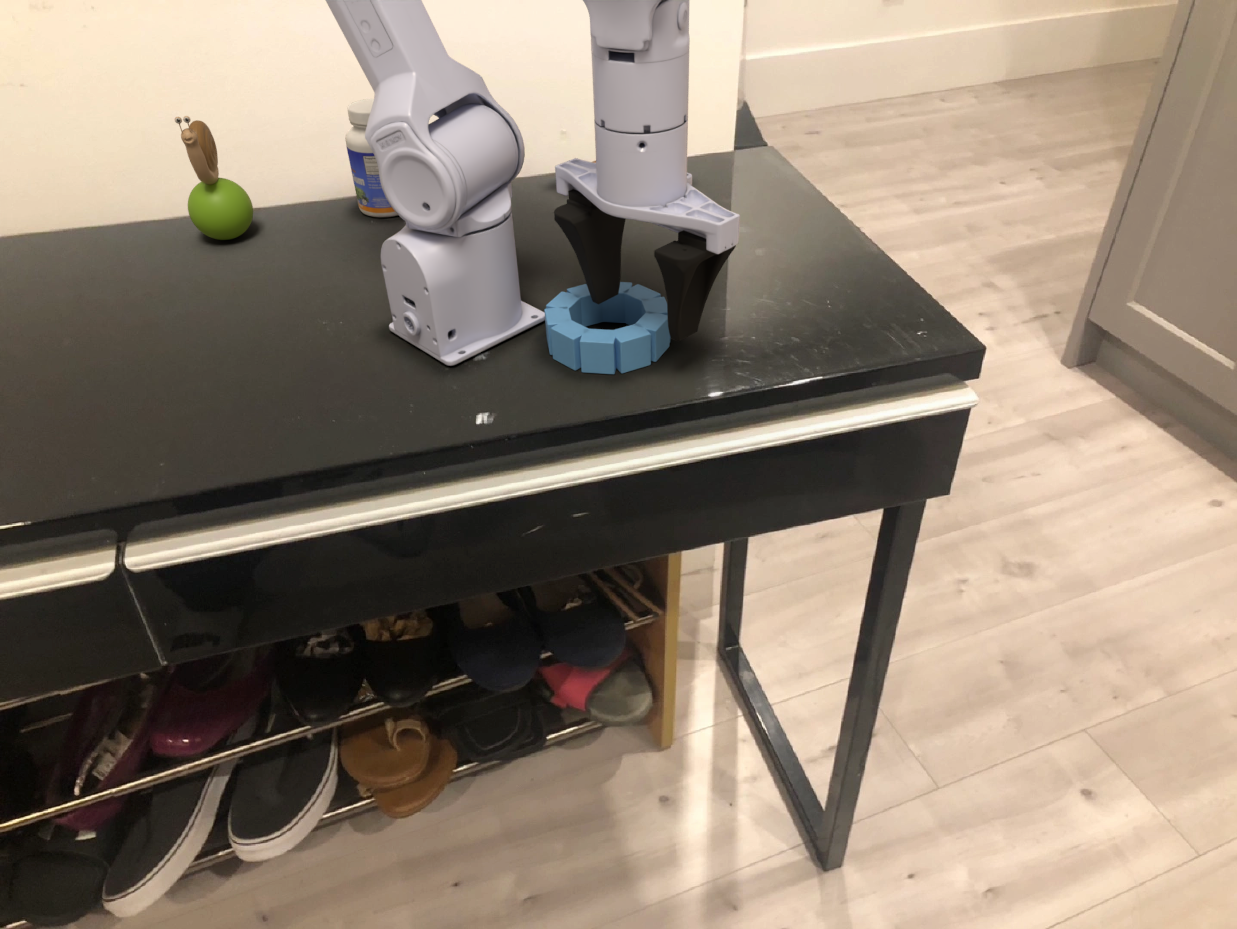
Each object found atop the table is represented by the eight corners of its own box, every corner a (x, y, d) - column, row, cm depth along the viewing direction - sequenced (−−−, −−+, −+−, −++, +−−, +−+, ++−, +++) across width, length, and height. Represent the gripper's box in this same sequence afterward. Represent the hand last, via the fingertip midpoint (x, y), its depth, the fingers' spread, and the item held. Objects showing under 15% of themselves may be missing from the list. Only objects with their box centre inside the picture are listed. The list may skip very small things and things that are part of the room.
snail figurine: (192, 257, 81) (145, 120, 74) (203, 228, 86) (159, 96, 79) (256, 250, 82) (215, 114, 74) (262, 221, 87) (225, 90, 79)
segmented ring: (608, 389, 63) (607, 357, 62) (522, 342, 68) (518, 311, 67) (694, 339, 68) (695, 308, 67) (607, 299, 73) (606, 269, 72)
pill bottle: (357, 200, 90) (335, 99, 84) (412, 193, 91) (395, 92, 85) (362, 222, 86) (340, 117, 80) (419, 214, 87) (402, 110, 81)
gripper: (777, 127, 54) (761, 329, 62) (604, 80, 62) (611, 264, 70) (698, 160, 50) (692, 371, 58) (525, 106, 58) (542, 297, 67)
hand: (643, 315), depth 64 cm, fingers open, 7 cm apart
